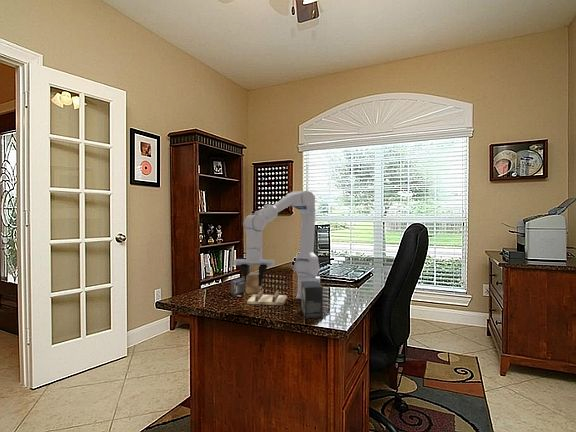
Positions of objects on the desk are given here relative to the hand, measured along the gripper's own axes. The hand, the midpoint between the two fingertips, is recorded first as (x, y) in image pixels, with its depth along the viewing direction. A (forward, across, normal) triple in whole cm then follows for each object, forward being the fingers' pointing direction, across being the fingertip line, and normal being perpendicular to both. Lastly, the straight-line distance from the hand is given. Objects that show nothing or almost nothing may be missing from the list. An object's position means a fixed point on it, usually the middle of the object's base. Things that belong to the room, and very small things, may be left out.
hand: (254, 285), depth 125 cm
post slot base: (+8, +3, +12) cm, 15 cm away
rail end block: (+2, 0, 0) cm, 2 cm away
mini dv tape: (+9, -12, +24) cm, 28 cm away
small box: (+9, +21, -4) cm, 23 cm away
